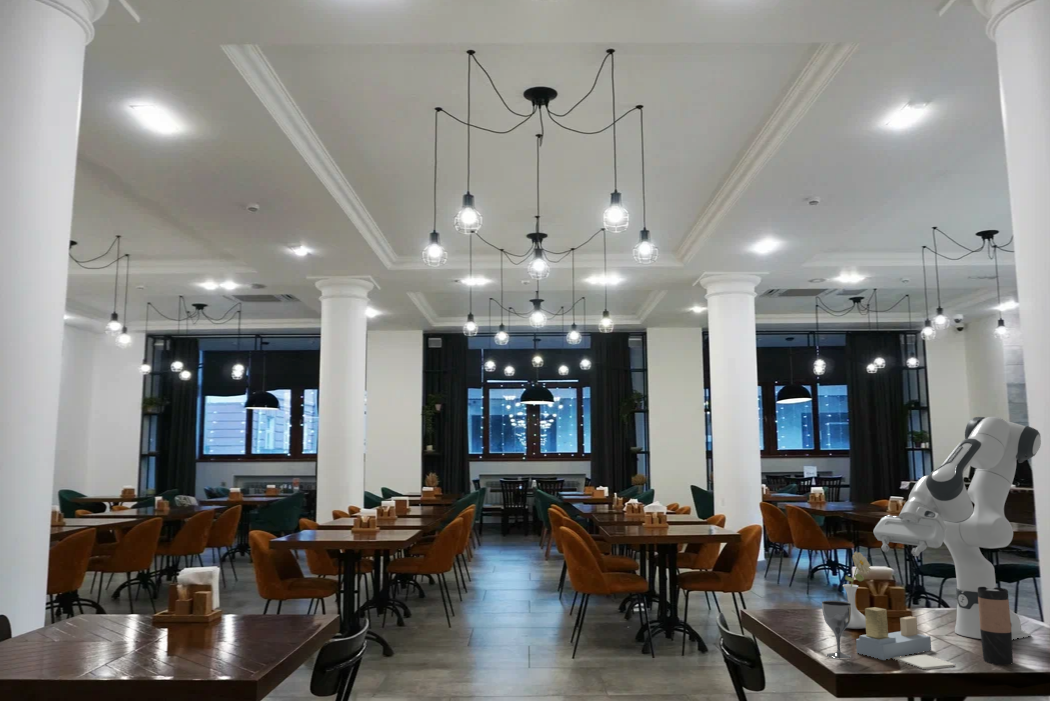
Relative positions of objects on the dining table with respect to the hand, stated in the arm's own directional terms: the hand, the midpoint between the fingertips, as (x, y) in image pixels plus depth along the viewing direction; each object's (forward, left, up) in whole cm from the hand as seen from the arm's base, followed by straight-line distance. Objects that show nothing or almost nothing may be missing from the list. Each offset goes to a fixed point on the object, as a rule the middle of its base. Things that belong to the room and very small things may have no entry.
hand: (899, 552), depth 236 cm
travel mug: (-16, +17, -29) cm, 37 cm away
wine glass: (+23, -1, -29) cm, 37 cm away
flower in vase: (-7, -31, -29) cm, 43 cm away
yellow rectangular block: (+11, +2, -25) cm, 27 cm away
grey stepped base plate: (+4, 0, -29) cm, 29 cm away
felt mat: (+5, +12, -29) cm, 32 cm away
